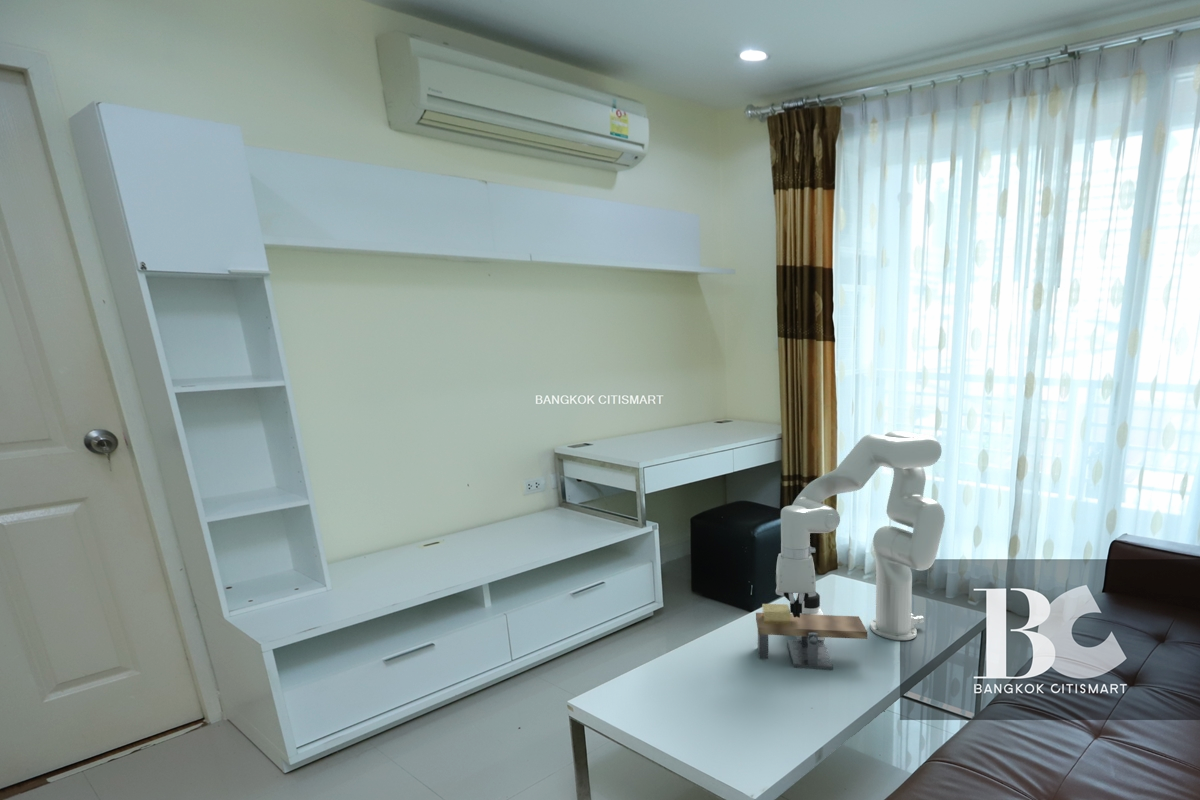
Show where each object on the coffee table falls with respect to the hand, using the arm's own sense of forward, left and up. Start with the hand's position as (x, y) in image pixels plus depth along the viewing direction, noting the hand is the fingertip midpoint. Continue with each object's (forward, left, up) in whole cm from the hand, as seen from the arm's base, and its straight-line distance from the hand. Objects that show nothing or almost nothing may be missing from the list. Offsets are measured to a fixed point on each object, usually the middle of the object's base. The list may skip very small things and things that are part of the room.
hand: (796, 615), depth 165 cm
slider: (+5, -2, -2) cm, 6 cm away
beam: (-3, +2, -4) cm, 5 cm away
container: (-10, -9, -12) cm, 18 cm away
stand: (+1, 0, -12) cm, 12 cm away
